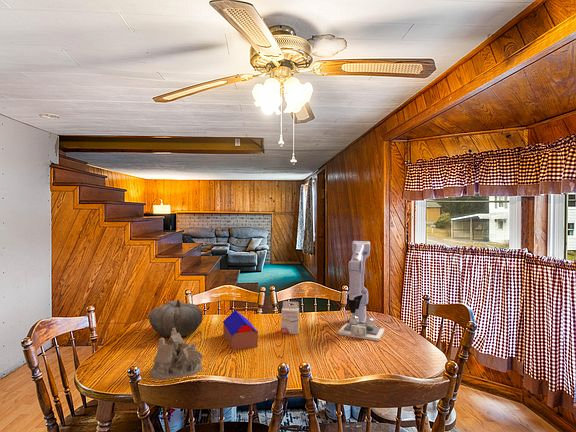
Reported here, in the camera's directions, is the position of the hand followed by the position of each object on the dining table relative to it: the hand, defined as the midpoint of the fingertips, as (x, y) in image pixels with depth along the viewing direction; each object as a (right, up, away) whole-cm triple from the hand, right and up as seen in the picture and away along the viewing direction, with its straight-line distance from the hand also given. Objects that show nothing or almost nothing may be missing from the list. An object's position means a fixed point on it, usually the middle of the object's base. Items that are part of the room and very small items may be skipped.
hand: (354, 311), depth 176 cm
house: (-56, -10, -15) cm, 59 cm away
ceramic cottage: (-75, -10, -46) cm, 89 cm away
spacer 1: (0, -8, 0) cm, 8 cm away
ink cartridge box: (-33, -10, -3) cm, 34 cm away
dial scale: (+3, -10, -3) cm, 11 cm away
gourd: (-88, -9, -6) cm, 89 cm away
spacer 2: (+7, -8, -3) cm, 11 cm away
